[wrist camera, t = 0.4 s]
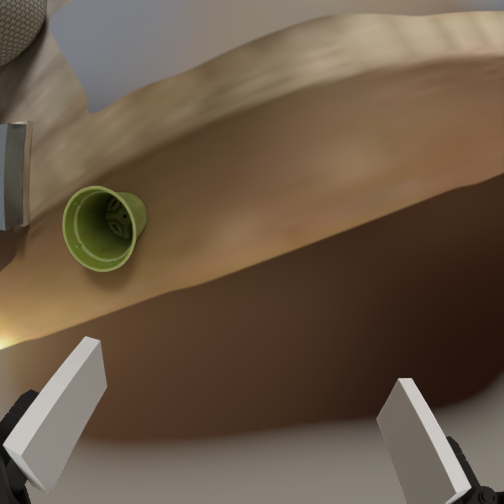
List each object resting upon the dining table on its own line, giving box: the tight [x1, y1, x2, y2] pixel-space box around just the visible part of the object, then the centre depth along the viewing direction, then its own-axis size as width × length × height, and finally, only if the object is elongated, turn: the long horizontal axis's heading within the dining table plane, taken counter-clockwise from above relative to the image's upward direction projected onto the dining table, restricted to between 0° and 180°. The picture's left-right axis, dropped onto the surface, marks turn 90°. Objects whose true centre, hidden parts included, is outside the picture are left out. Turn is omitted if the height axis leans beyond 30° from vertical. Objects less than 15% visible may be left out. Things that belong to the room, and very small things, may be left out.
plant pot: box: [62, 186, 147, 272], centre depth 33 cm, size 9×9×9 cm
